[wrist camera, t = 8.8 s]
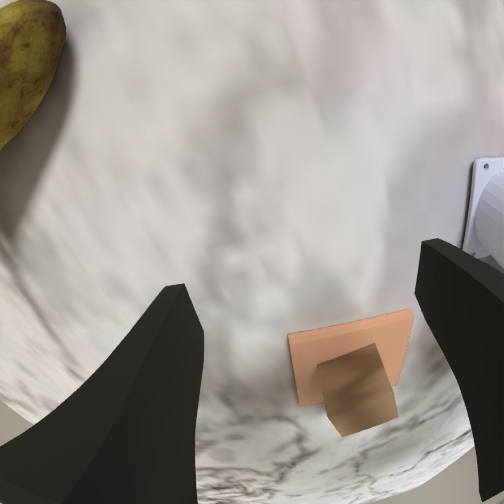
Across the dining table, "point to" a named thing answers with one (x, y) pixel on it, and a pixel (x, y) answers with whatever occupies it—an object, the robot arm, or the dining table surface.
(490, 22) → the dining table surface
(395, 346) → the terracotta tile
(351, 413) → the walnut cube
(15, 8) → the olive green oval piece
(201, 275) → the dining table surface
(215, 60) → the dining table surface
